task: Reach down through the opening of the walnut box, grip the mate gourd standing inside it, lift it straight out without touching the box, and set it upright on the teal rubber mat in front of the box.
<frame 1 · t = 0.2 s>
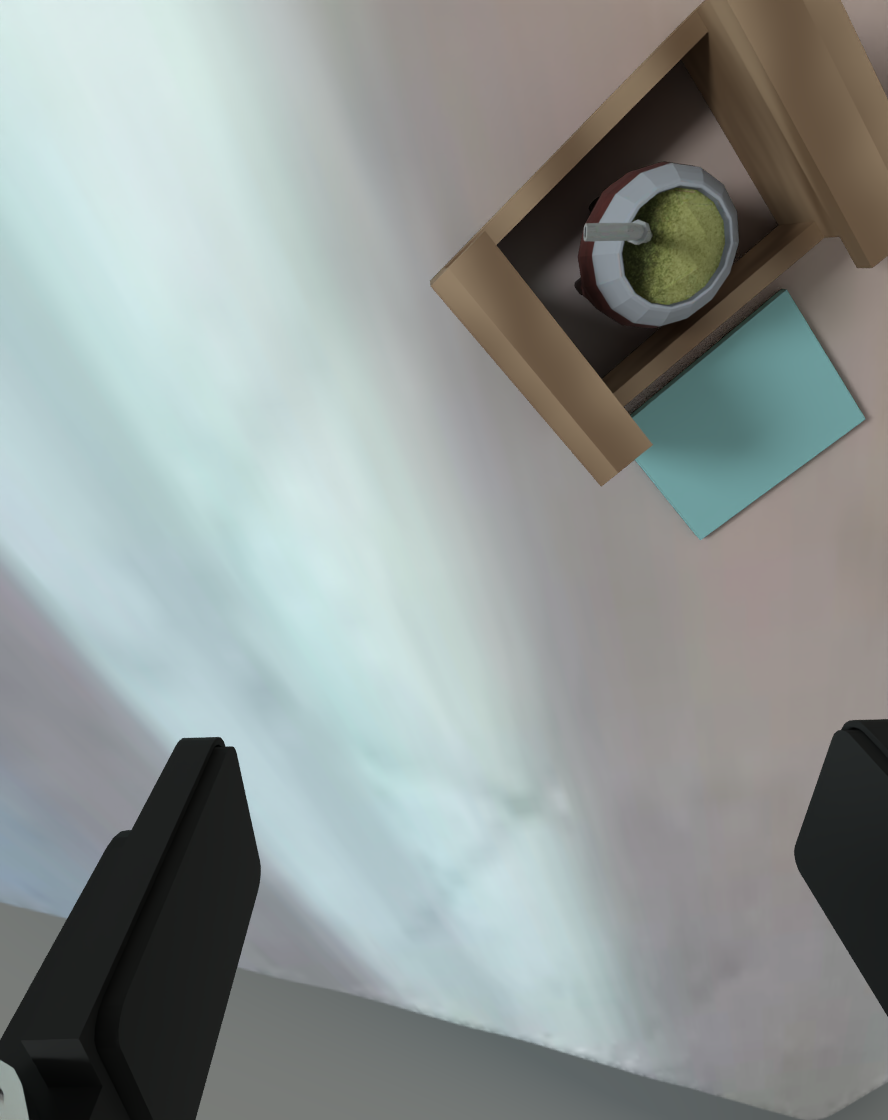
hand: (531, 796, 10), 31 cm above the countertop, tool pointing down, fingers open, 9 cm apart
mate gourd: (613, 254, 34), resting in walnut box
teal mat: (735, 423, 38), on the countertop
walnut box: (614, 253, 34), on the countertop
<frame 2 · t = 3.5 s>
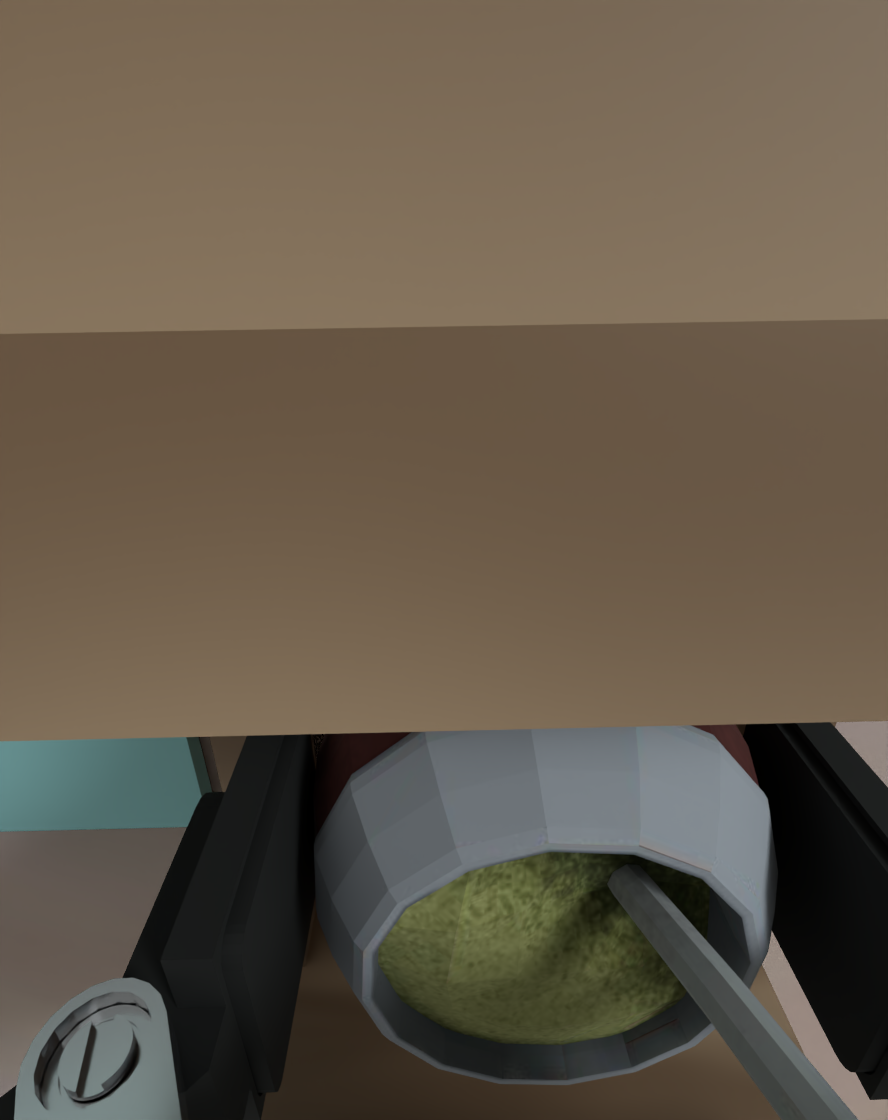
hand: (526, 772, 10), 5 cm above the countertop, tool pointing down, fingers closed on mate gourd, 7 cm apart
mate gourd: (508, 615, 15), resting in walnut box, touching gripper
walnut box: (505, 621, 15), on the countertop
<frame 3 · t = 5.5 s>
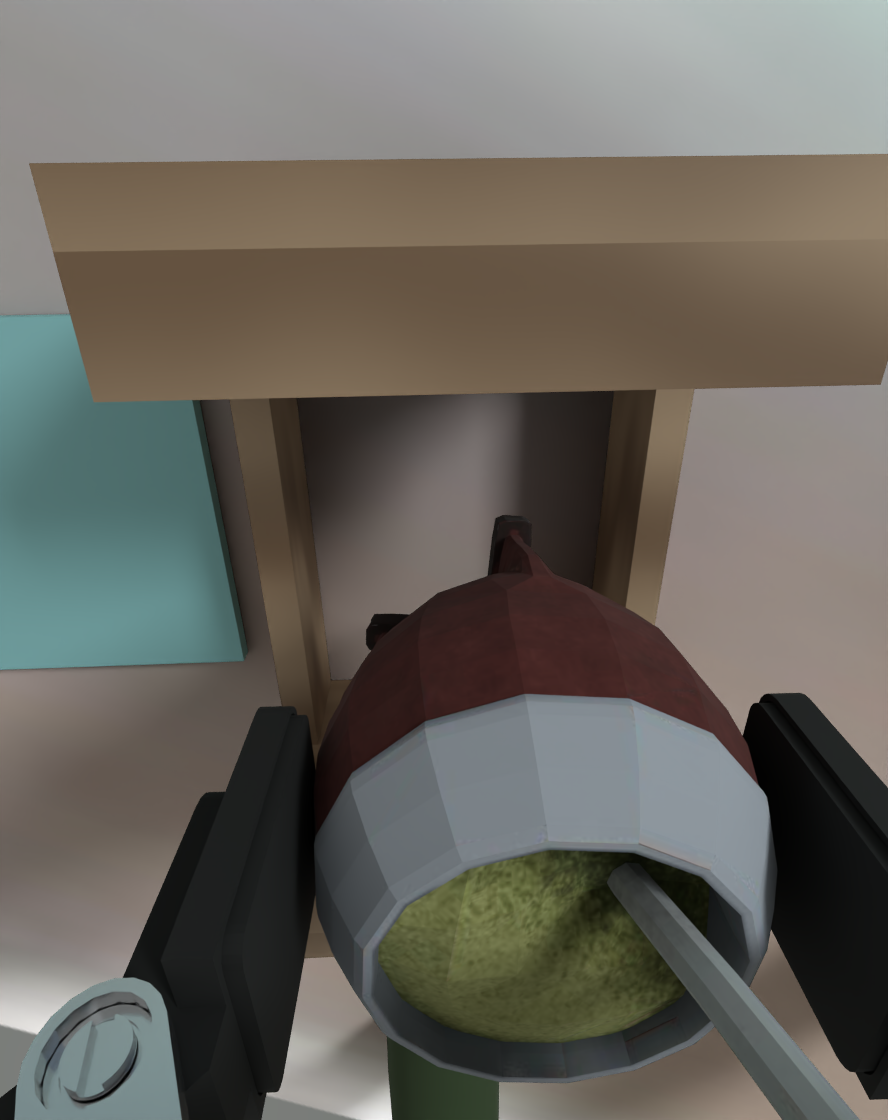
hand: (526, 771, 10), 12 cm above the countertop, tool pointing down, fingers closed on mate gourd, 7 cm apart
mate gourd: (508, 614, 15), point 7 cm above the countertop, touching gripper
character mug: (442, 1014, 35), on the countertop
teal mat: (68, 508, 20), on the countertop
walnut box: (457, 497, 21), on the countertop
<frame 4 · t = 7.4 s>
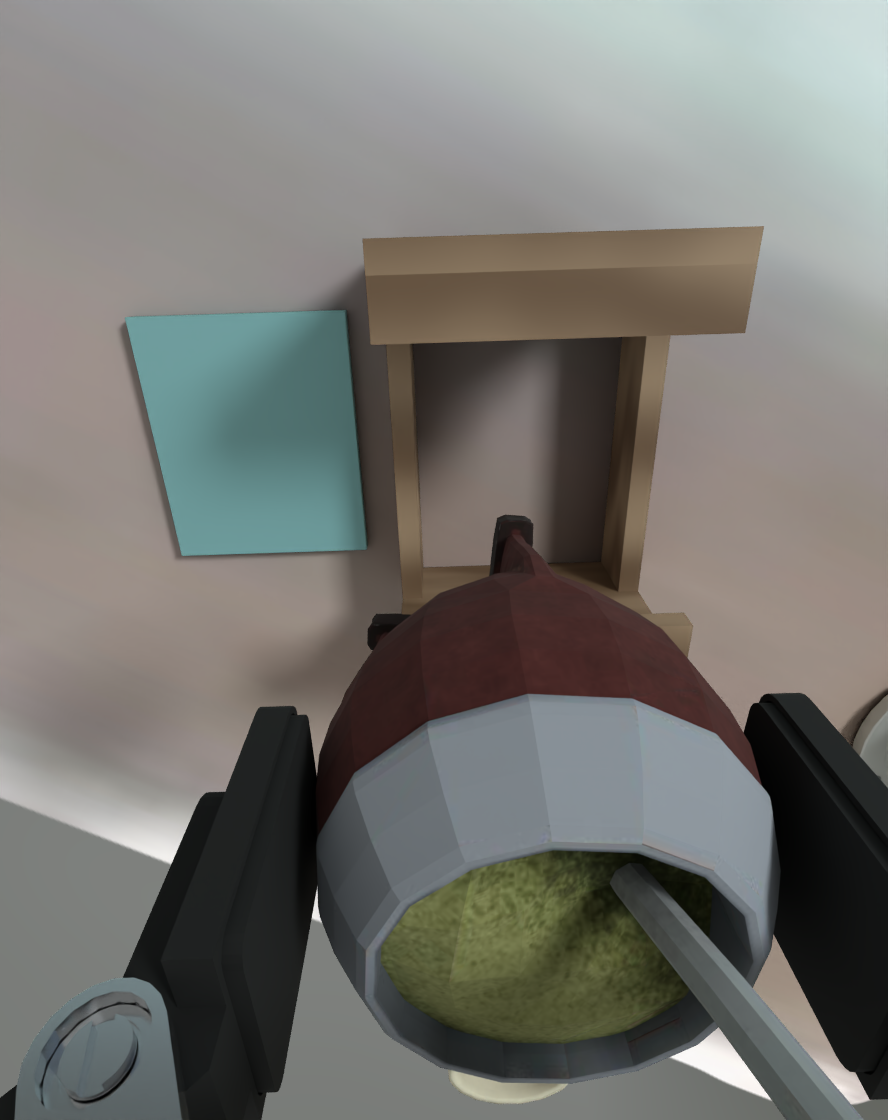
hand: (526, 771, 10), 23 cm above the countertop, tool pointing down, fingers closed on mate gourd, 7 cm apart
mate gourd: (509, 614, 15), point 18 cm above the countertop, touching gripper
character mug: (491, 860, 45), on the countertop
teal mat: (259, 440, 31), on the countertop
walnut box: (515, 432, 31), on the countertop
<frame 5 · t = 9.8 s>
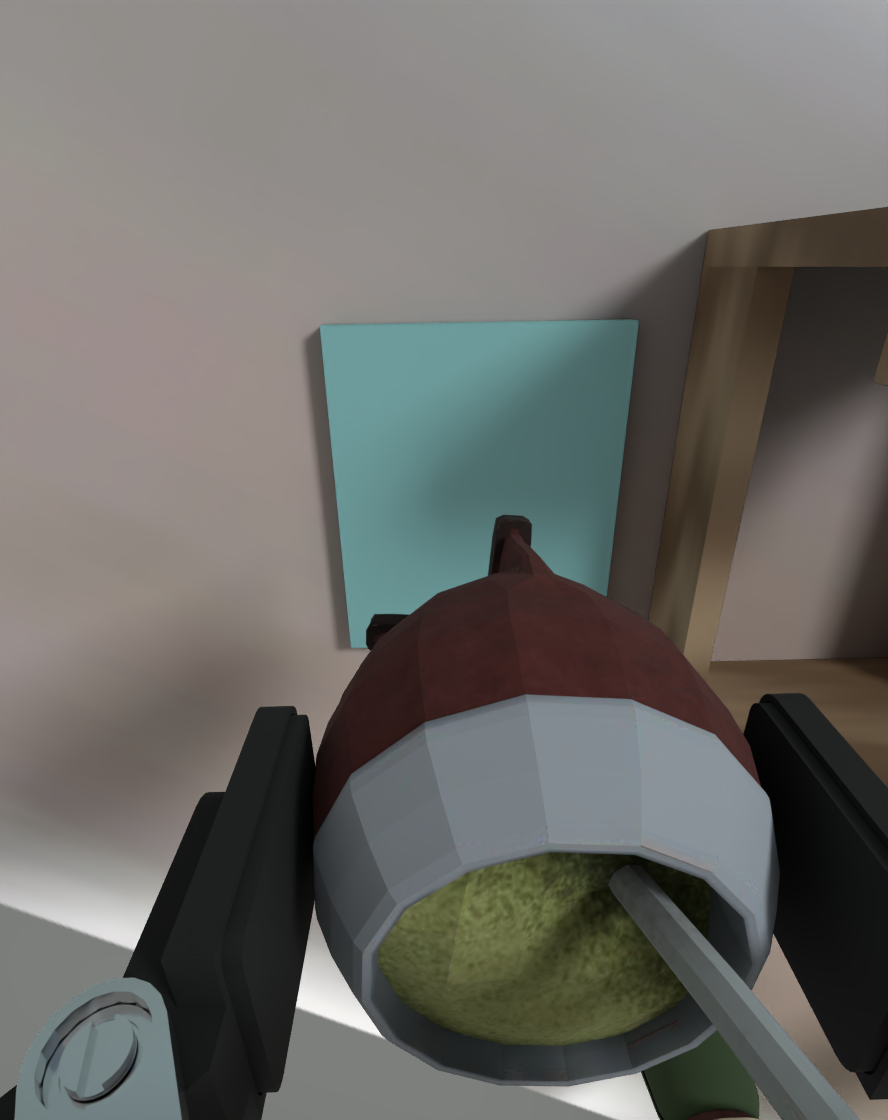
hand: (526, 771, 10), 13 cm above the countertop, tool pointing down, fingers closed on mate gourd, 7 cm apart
mate gourd: (508, 614, 15), point 8 cm above the countertop, touching gripper
character mug: (671, 995, 36), on the countertop
teal mat: (476, 498, 22), on the countertop
walnut box: (830, 490, 22), on the countertop
when the fingers open (7 cm above the countertop, at t = 11.6 s): mate gourd drops 1 cm, resting on teal mat.
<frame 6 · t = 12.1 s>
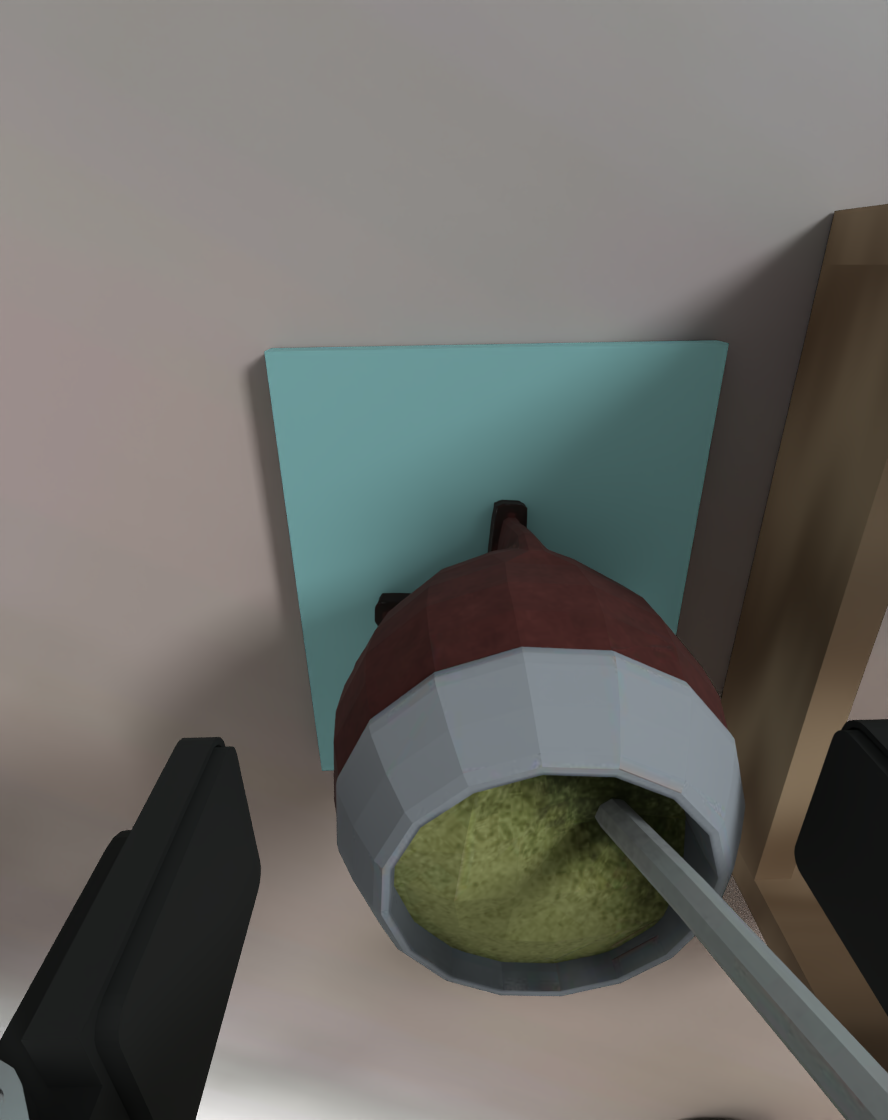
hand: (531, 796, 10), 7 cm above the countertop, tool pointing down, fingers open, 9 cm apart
mate gourd: (506, 593, 16), resting on teal mat
teal mat: (490, 581, 16), on the countertop
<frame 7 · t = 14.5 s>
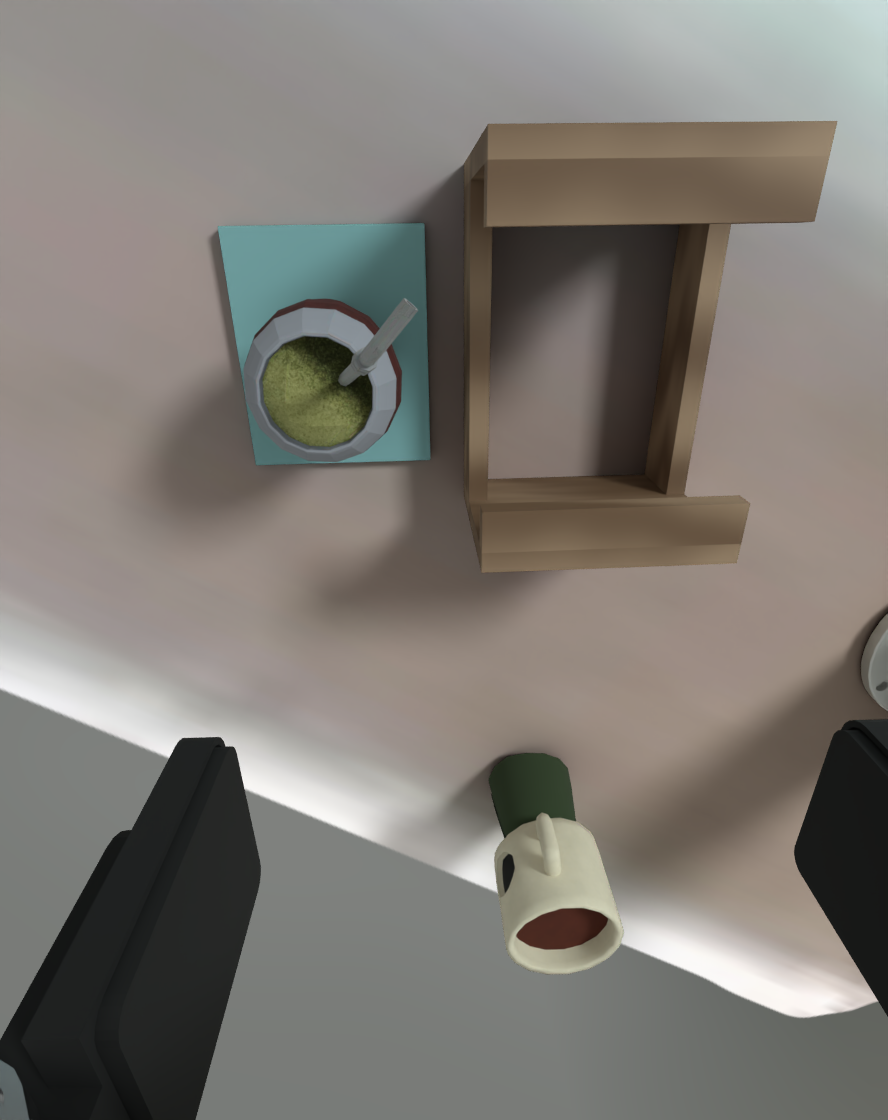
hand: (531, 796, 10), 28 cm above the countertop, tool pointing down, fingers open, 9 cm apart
mate gourd: (341, 355, 32), resting on teal mat
character mug: (526, 772, 48), on the countertop
teal mat: (334, 351, 33), on the countertop
walnut box: (573, 346, 33), on the countertop
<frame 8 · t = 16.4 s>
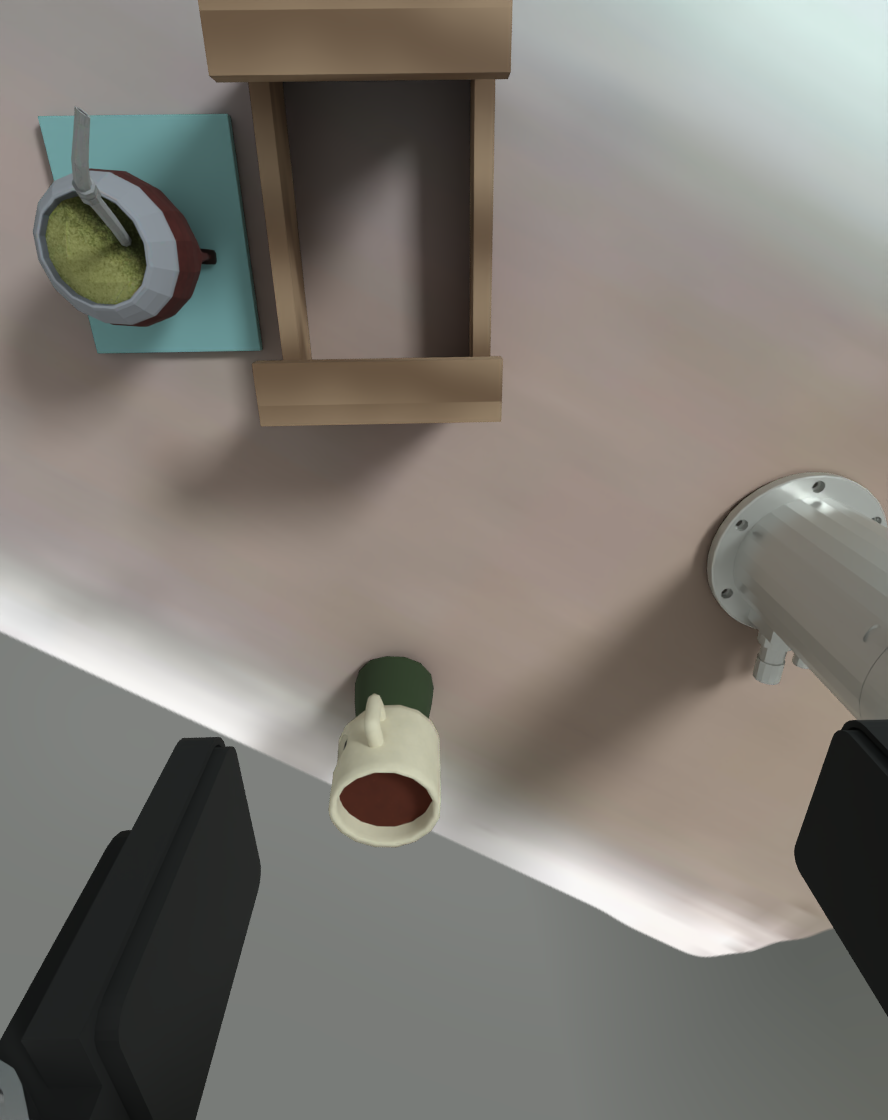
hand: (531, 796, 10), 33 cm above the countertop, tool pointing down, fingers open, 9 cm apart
mate gourd: (166, 245, 35), resting on teal mat
character mug: (395, 680, 50), on the countertop
teal mat: (161, 242, 35), on the countertop
walnut box: (384, 239, 36), on the countertop
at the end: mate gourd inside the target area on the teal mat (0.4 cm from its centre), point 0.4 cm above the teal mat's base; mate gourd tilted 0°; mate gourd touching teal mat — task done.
